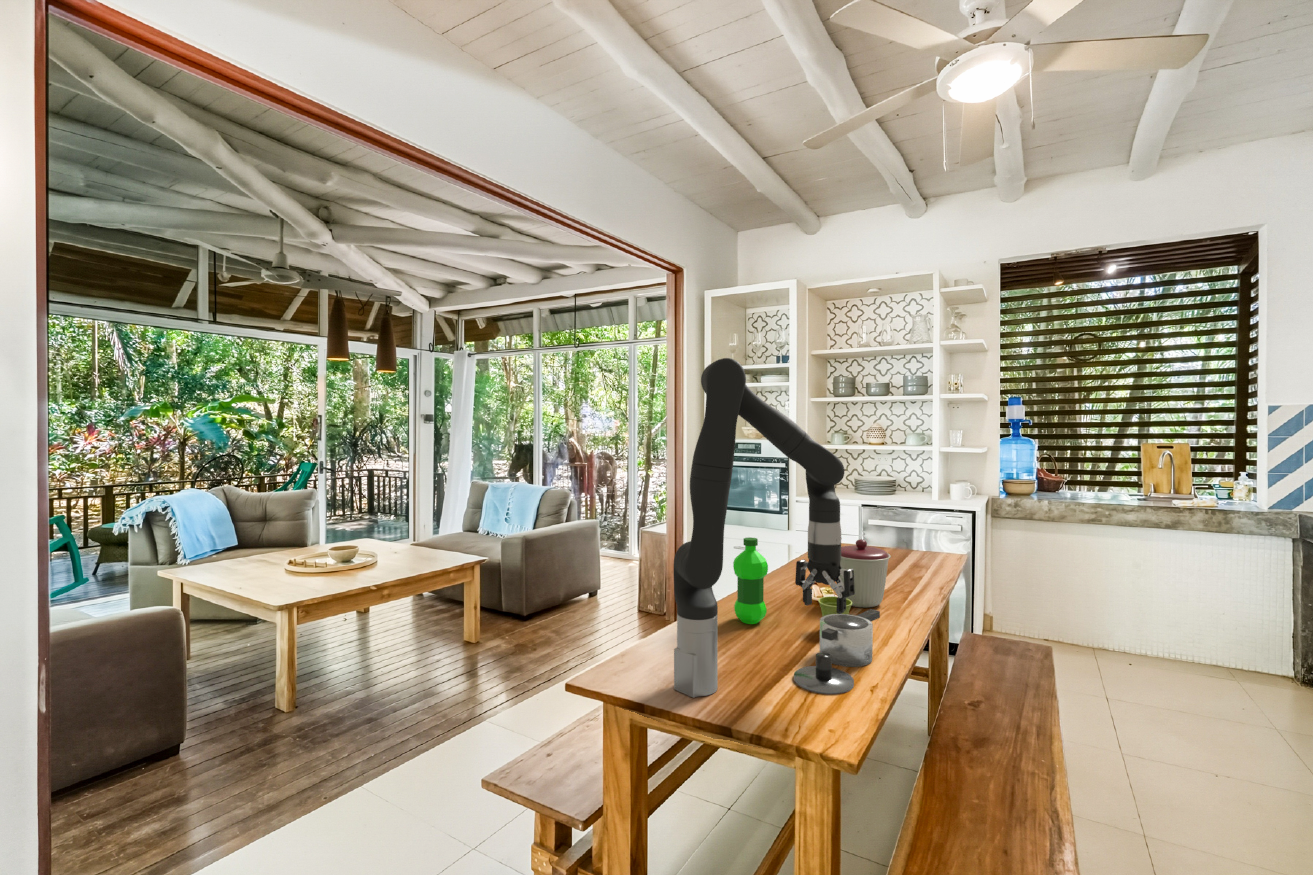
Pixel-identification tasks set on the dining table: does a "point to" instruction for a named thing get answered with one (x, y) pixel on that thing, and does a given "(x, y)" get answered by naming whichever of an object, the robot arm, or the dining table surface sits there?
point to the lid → (823, 677)
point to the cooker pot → (848, 637)
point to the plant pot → (832, 605)
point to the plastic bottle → (750, 583)
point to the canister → (865, 572)
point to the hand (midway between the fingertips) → (824, 608)
